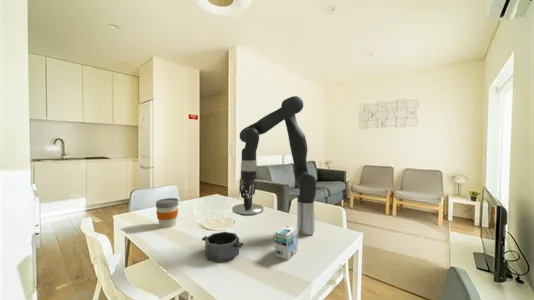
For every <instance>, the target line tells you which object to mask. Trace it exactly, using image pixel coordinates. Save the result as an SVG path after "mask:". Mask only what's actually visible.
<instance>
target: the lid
mask: <svg viewBox="0 0 534 300" xmlns="http://www.w3.org/2000/svg"><path fill="white" fill-rule="evenodd" d="M248 199H249V206H247V207H246V206H244V203H240V204H235V205H234V206H233V207H232V213H234V214H236V215H239V216H243V217H252V216H257V215H259V214H261V213H263V212H264V206H262V205H260V204H257V203H253V197H252V195H249V198H248Z"/></svg>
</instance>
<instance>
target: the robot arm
mask: <svg viewBox="0 0 534 300" xmlns="http://www.w3.org/2000/svg"><path fill="white" fill-rule="evenodd" d="M280 105H281V107H279V108H278V109H276V110H274V111H272V112H270V113H268V114H267V115H264V116H263V117H262V118H260V119H259V120H257V121H256V122H254V123H252V124H250V125H248V126H246V127H243V129H242V130H241V131H240V133H239V139H240V140H241V141H242V143H244V148H242V150H241V163H240V179H241V180H242V186H239V192H240V197H241V198H242V199H243V204H244V206H246V207H247V206H249V199H248V198H249V195H252V198H253V197H254V195H256V194H255V193H256V190H257V189H256V188H257V182H254V181H256V180H257V150H258V147H259V142H260V136H261V135H263V134H266V133H268V132H269V131H270V130H272V129H273V128H274V127H276V126H277V125H279V124H280V123H281V122H282V121H284V123H285V126H286V131H287V136H288V142H289V146H290V147H289V148H290V151H291V156H292V161H293V166H294V167H293V168H294V175H295V178H294V179H295V183H296V185H297V186H298V187H299V195H297V197H296V198H297V200H296V201H297V202H296V203H297V205H296V206H297V207H296V208H297V213H296V216H297V217H296V218H297V219H296V220H297V221H296V222H297V224H296V226H297V227H296V228H298V234H300V235H303V236H310V235H311V236H314V233H315V231H316V230H315V229H316V228H315V226H316V225H315V223H316V222H315V221H316V220H315V219H316V215H315V198H316V191H317V181H316V178H315V177H316V176H314V175H313V174H312V173H309V171H308V170H309V169H308V165H307V156H308V142H307V139H306V138H307V137H306V136H305V133H304V132H303V130H302V129H301V127H300V126H299V124H298V121H297V117H296V114H299V113H300V112H301V111H302V110H303V108H304V100H303V99H302V98H301V97H300V96H297V95H296V96H295V95H294V96H290V97H288V98H286V99H284V100H283V101H282V102H281V104H280Z"/></svg>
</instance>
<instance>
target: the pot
mask: <svg viewBox="0 0 534 300" xmlns="http://www.w3.org/2000/svg"><path fill="white" fill-rule="evenodd" d="M201 241H202V242H203V241H204V243H205V244H204V245H205V246H204V247H205V248H204V249H205V250H204V251H205V252H204V253H205V254H204V255H205V257H206V260H207V261H210V262H215V263H217V264H218V263H219V264H220V263H224V262H229V261H233V260H234V259H235V258H237V256H238V255H239V254H240V248H242V247H243V246H244V243H243V242H241V241H240V237H239V236H238V235H237V234H236V233H235V232H229V231H222V232H215V233H211V234H210V235H208V236H207V235H205V236H202V238H201Z"/></svg>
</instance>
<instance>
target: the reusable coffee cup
mask: <svg viewBox="0 0 534 300" xmlns="http://www.w3.org/2000/svg"><path fill="white" fill-rule="evenodd" d="M178 207H179V199H178V198H171V197H168V198H162V199H158V200H156V201H155V208H156V211H155V212H156V218H157V220H158V224H159V225H158V226H159V228H161V229H169V228H172V227H174V226H176V224H177V217H178V213H179V212H178V211H179V208H178Z"/></svg>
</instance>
